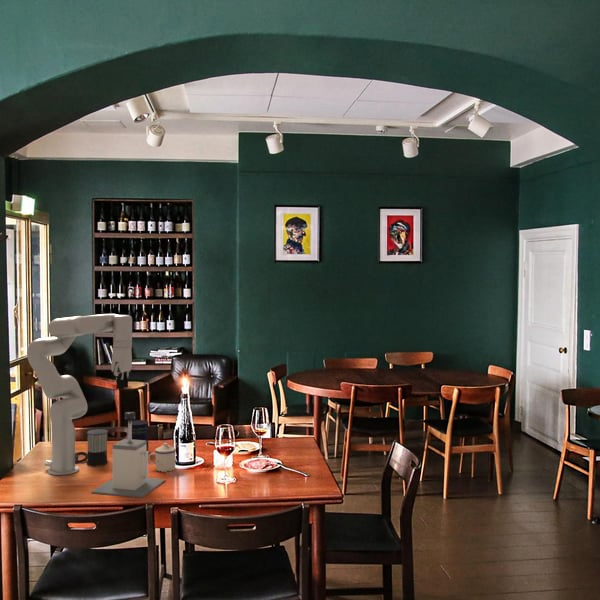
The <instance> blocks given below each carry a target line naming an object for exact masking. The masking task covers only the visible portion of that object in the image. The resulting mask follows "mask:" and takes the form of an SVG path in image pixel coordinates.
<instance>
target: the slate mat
mask: <svg viewBox="0 0 600 600" xmlns="http://www.w3.org/2000/svg"><path fill="white" fill-rule="evenodd" d="M164 482H166V478H156V477H155V478H154V477H148V478H147V479H146V483H145V484H143V485H142V486H141V487H139V488H138V489H136V490H128V489H117V488H112V478H111V479H109V480H107V481H106V482H103V484H101V485H99V486H98V487H96V488H95V489H93V490H91V491H90V494H98V495H106V494H107V495H109V496H118V497H119V496H120V497H129V498H139V499H140V498H142V499H143V498H145V497H146V496H147V495H148V494H150V493H151V492H152V491H154V490H155V489H156V488H157V487H159V486H161V484H163V483H164Z"/></svg>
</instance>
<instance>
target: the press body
mask: <svg viewBox="0 0 600 600" xmlns="http://www.w3.org/2000/svg"><path fill="white" fill-rule="evenodd" d="M146 444H147V441H146V440H133V439H132V443H128V438H123V439H121V440H119V441H118V442H115V443H114V444H112V474H111V475H112V476H111V477H112V478H111V479H112V488H117V489H128V490H136V489H138V488H139V487H141V486H142V485H143V484H145V483H146V479H147V478H149V450H148V451H146Z"/></svg>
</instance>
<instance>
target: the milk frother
mask: <svg viewBox="0 0 600 600" xmlns="http://www.w3.org/2000/svg"><path fill="white" fill-rule="evenodd" d="M86 434H87V453H86V452H84V451H79V452H75V464H76V463H77V464H80V463H84V462H86V461H87V462H86V465H88V466H90V465H91V466H92V467H97V466H98V465H100V466H104V464H105V465H107V464H108V463H109V462H108V430H107V429H104V428H102V429H101V428H100V429H99V428H97V429H90V430H88V431H87V432H86ZM79 456H84V458H82V459H79ZM91 466H90V467H91ZM98 467H99V466H98Z"/></svg>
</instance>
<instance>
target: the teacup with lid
mask: <svg viewBox="0 0 600 600" xmlns="http://www.w3.org/2000/svg"><path fill="white" fill-rule="evenodd" d="M176 451H177V449H176V447H173V446H171V445H170V444H168V443H167V442H163V444H162V445H161V446H159V447H156V448H155V449H154V452H151V453H150V454H148V462H150V464H153V465H155V471H157V472H160V471H161V472H163V473H167V471H169V472H172V470H173V471H174V470H175V469H176ZM152 455H154V456H155V461H153V459H151V456H152Z"/></svg>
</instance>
